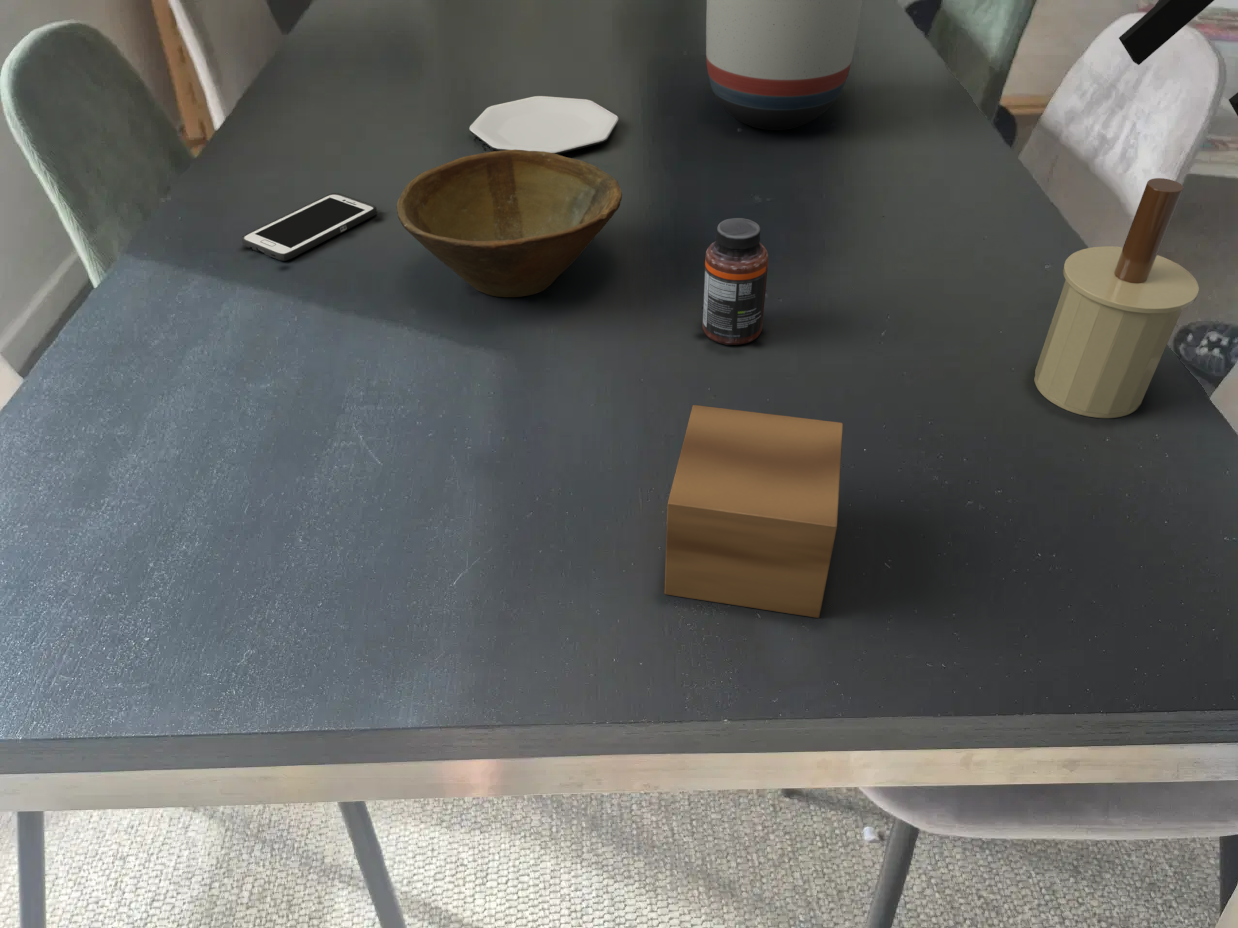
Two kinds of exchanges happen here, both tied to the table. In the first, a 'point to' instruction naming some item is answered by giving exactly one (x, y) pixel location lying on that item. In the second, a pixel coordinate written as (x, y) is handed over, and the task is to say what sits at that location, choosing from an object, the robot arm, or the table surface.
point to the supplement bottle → (735, 283)
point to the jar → (1100, 356)
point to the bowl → (509, 216)
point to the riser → (754, 510)
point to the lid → (1137, 261)
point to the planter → (779, 57)
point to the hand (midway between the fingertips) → (1179, 81)
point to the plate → (544, 124)
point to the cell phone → (308, 226)
